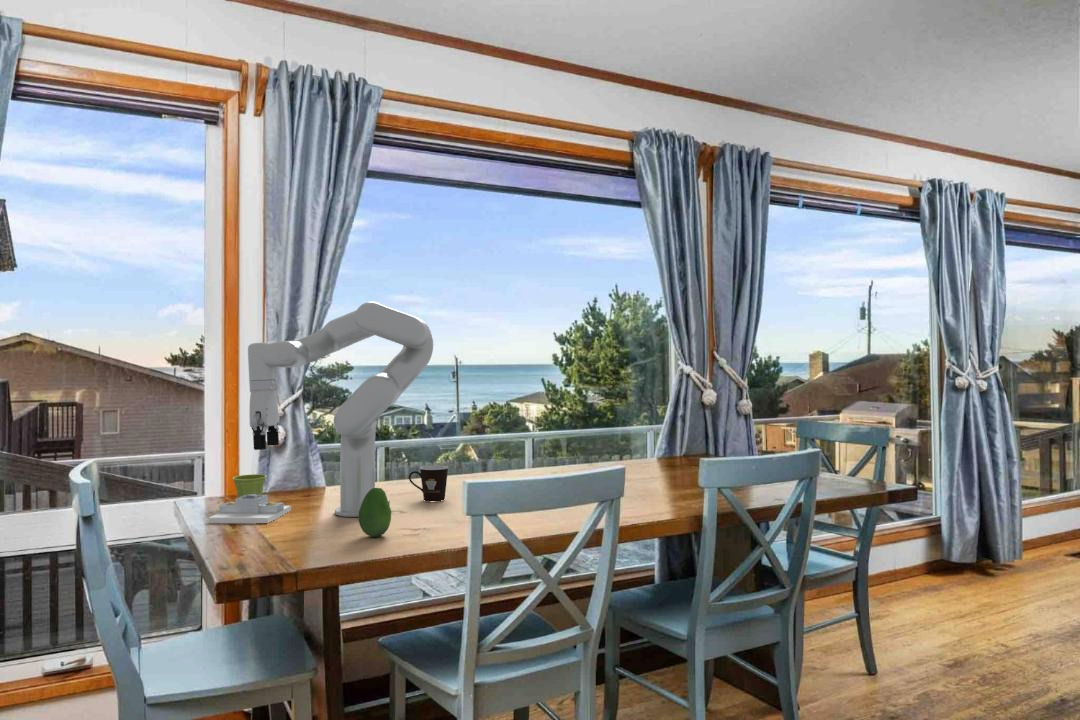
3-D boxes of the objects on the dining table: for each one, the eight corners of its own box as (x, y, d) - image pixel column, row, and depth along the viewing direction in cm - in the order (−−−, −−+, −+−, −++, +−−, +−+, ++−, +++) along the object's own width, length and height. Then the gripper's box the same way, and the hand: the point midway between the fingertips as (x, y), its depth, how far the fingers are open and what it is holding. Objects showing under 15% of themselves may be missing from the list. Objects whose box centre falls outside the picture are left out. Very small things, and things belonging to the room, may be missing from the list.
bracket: (217, 513, 199) (217, 499, 199) (228, 508, 206) (228, 494, 206) (275, 514, 199) (275, 499, 199) (284, 509, 205) (284, 494, 205)
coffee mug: (453, 499, 227) (453, 467, 227) (435, 503, 220) (435, 470, 220) (425, 495, 233) (425, 464, 233) (406, 499, 226) (406, 467, 226)
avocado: (396, 533, 183) (396, 485, 183) (382, 541, 175) (382, 491, 175) (367, 531, 184) (366, 484, 184) (352, 539, 177) (352, 489, 177)
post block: (290, 510, 210) (290, 490, 210) (268, 523, 194) (268, 500, 194) (235, 510, 210) (235, 489, 210) (208, 523, 194) (208, 500, 194)
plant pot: (244, 510, 211) (243, 480, 211) (226, 506, 217) (226, 477, 217) (273, 505, 218) (273, 476, 218) (255, 501, 224) (255, 473, 224)
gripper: (262, 385, 214) (265, 444, 214) (237, 388, 197) (240, 452, 197) (287, 384, 214) (290, 443, 214) (265, 387, 197) (268, 450, 197)
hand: (266, 447), depth 206 cm, fingers open, 9 cm apart
